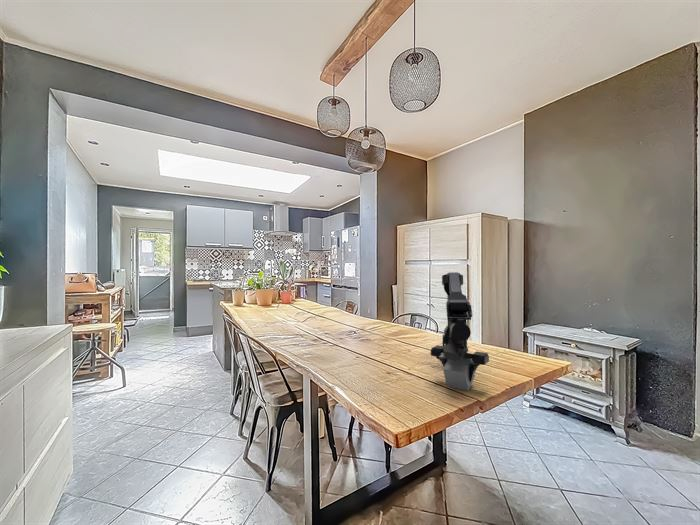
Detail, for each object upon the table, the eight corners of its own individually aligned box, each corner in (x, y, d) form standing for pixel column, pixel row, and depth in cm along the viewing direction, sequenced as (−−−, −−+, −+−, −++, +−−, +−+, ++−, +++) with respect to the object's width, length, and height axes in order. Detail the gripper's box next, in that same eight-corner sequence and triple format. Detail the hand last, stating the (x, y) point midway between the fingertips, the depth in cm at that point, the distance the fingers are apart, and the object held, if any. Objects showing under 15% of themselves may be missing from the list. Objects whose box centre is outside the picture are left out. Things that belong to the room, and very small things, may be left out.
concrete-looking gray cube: (446, 386, 107) (443, 368, 105) (453, 372, 112) (450, 355, 110) (468, 391, 102) (464, 373, 100) (474, 376, 108) (471, 358, 105)
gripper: (423, 334, 106) (424, 379, 106) (478, 342, 94) (480, 393, 94) (436, 329, 115) (437, 371, 114) (488, 336, 103) (490, 382, 102)
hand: (459, 379), depth 106 cm, fingers closed on concrete-looking gray cube, 7 cm apart
